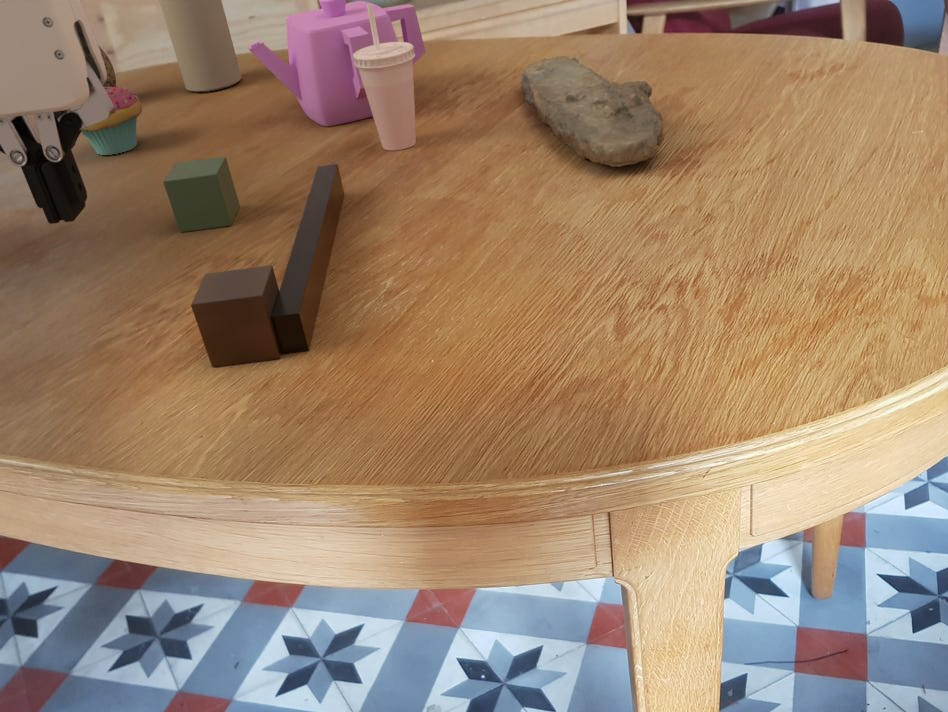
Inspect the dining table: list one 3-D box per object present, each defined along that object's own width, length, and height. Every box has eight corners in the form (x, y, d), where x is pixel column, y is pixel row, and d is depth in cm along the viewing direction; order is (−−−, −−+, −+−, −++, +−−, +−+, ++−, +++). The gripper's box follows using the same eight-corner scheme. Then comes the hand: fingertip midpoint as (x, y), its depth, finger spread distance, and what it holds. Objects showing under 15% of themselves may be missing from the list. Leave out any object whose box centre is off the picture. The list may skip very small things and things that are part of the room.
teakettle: (382, 128, 108) (361, 10, 101) (259, 128, 114) (230, 17, 107) (443, 83, 120) (428, -25, 113) (328, 85, 126) (307, -17, 119)
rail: (281, 354, 68) (270, 316, 66) (324, 196, 93) (317, 166, 91) (309, 350, 68) (299, 313, 66) (344, 194, 93) (337, 163, 91)
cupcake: (71, 154, 116) (31, 49, 108) (135, 132, 120) (100, 30, 112) (100, 166, 110) (60, 57, 103) (166, 143, 114) (131, 37, 107)
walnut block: (211, 367, 68) (190, 304, 65) (224, 334, 72) (204, 273, 69) (280, 359, 68) (261, 295, 65) (289, 325, 72) (272, 264, 69)
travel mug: (190, 97, 130) (146, -50, 120) (183, 85, 137) (140, -56, 126) (246, 84, 132) (208, -62, 121) (237, 73, 138) (199, -67, 127)
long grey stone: (585, 85, 116) (507, 105, 115) (580, 39, 113) (499, 59, 112) (691, 157, 87) (588, 183, 87) (688, 98, 84) (580, 124, 84)
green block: (179, 232, 90) (162, 181, 87) (190, 212, 94) (174, 163, 91) (231, 226, 90) (215, 174, 87) (240, 206, 94) (225, 156, 91)
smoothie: (363, 143, 105) (336, 5, 96) (418, 130, 106) (396, -7, 98) (379, 159, 100) (352, 15, 91) (436, 145, 101) (415, 2, 93)
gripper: (96, -118, 56) (187, 183, 68) (-146, -86, 57) (-16, 206, 68) (54, -102, 50) (161, 224, 62) (-215, -67, 51) (-61, 250, 62)
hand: (68, 214), depth 65 cm, fingers closed
